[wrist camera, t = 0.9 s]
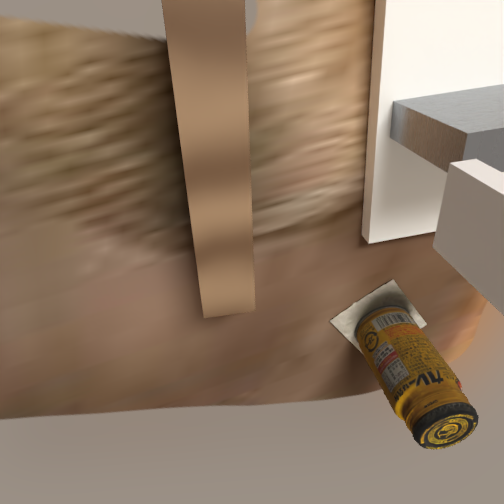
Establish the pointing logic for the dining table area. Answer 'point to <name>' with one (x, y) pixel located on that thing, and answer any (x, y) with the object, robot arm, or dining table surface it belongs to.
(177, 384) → the dining table surface
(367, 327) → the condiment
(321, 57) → the dining table surface
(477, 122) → the steel ridge
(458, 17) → the white board
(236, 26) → the walnut batten
